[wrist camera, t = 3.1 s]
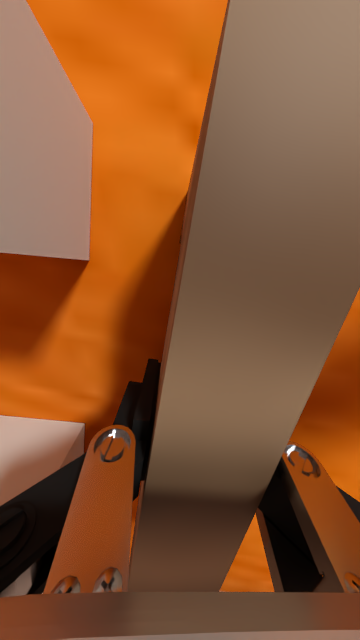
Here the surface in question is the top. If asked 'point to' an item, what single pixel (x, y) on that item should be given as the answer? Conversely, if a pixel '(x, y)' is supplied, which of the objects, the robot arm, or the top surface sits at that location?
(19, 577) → the robot arm
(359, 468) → the top surface
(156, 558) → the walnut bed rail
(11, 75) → the twin hollow square sockets
